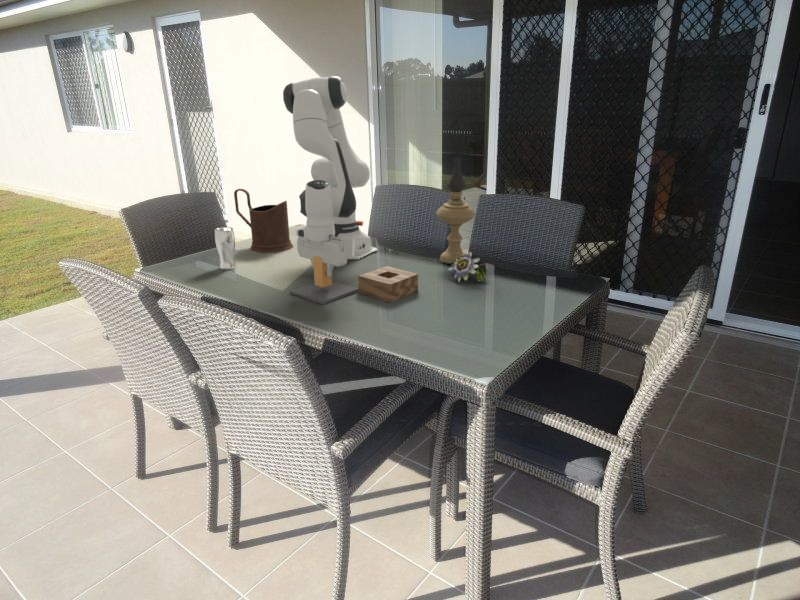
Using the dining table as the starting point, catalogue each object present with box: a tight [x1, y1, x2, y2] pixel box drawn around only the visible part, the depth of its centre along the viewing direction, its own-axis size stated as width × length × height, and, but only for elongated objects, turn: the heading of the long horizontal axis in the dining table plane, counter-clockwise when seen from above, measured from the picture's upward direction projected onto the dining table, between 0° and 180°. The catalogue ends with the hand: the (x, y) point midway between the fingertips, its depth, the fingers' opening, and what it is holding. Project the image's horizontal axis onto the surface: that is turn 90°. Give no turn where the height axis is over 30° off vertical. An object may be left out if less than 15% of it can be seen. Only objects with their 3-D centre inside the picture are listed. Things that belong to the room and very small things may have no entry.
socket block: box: [357, 265, 419, 303], centre depth 177 cm, size 14×14×6 cm
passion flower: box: [447, 251, 488, 282], centre depth 189 cm, size 11×11×12 cm
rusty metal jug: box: [233, 188, 294, 254], centre depth 229 cm, size 18×24×25 cm
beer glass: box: [214, 226, 237, 271], centre depth 203 cm, size 7×7×15 cm
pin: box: [313, 256, 333, 287], centre depth 175 cm, size 4×4×10 cm
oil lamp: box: [435, 156, 476, 263], centre depth 205 cm, size 15×15×40 cm
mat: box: [289, 280, 359, 306], centre depth 178 cm, size 16×16×1 cm
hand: (323, 274), depth 176 cm, fingers closed on pin, 4 cm apart
